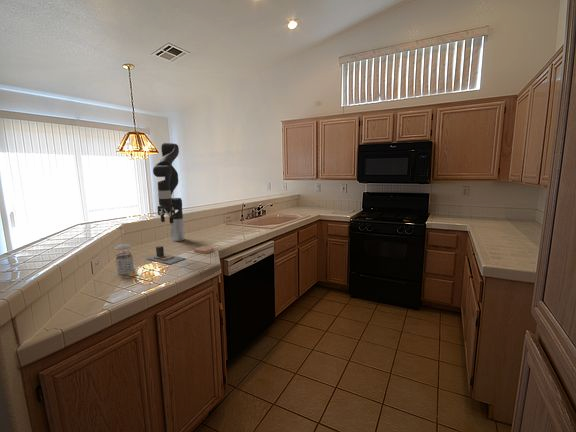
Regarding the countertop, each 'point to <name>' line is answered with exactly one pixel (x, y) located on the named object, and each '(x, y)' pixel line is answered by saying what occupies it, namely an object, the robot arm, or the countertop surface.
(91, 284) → the countertop surface
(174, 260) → the mat
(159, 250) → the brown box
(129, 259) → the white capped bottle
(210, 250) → the tile
